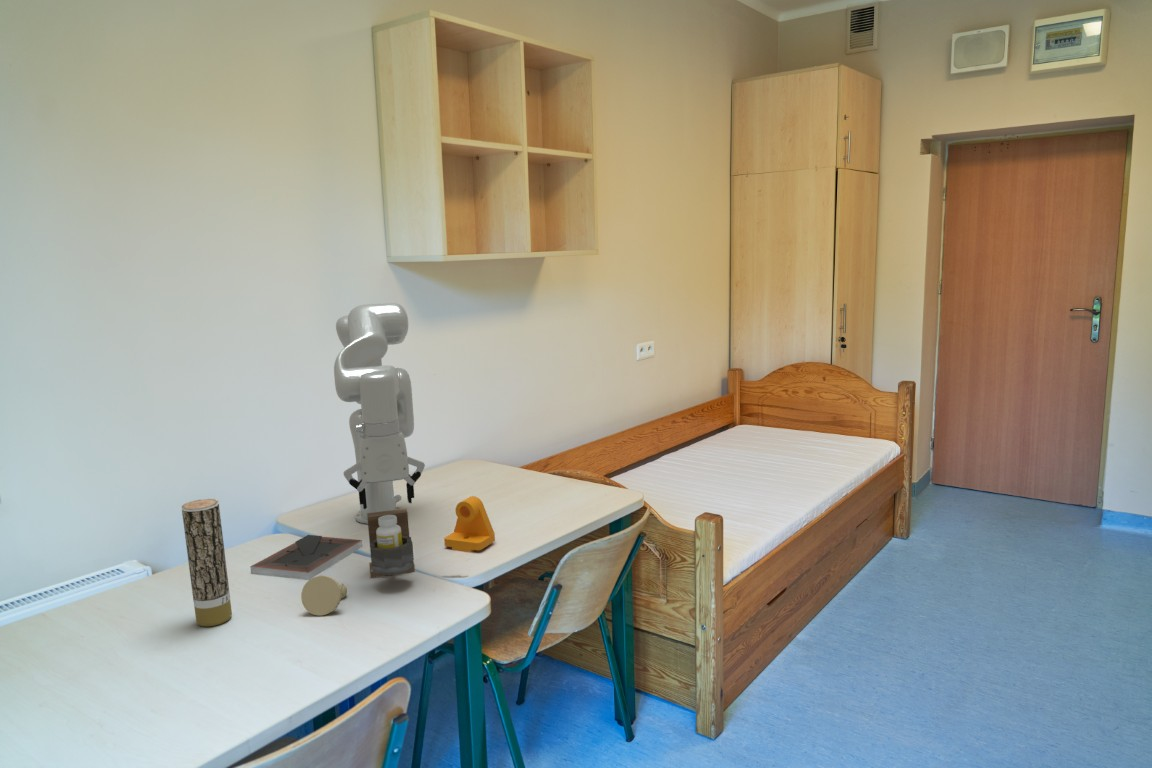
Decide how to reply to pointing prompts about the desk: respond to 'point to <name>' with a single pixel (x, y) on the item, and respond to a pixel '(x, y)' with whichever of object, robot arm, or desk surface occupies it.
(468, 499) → the bracket
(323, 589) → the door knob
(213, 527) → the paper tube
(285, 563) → the picture frame
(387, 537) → the supplement bottle
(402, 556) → the cup bracket
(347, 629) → the desk surface
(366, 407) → the robot arm
